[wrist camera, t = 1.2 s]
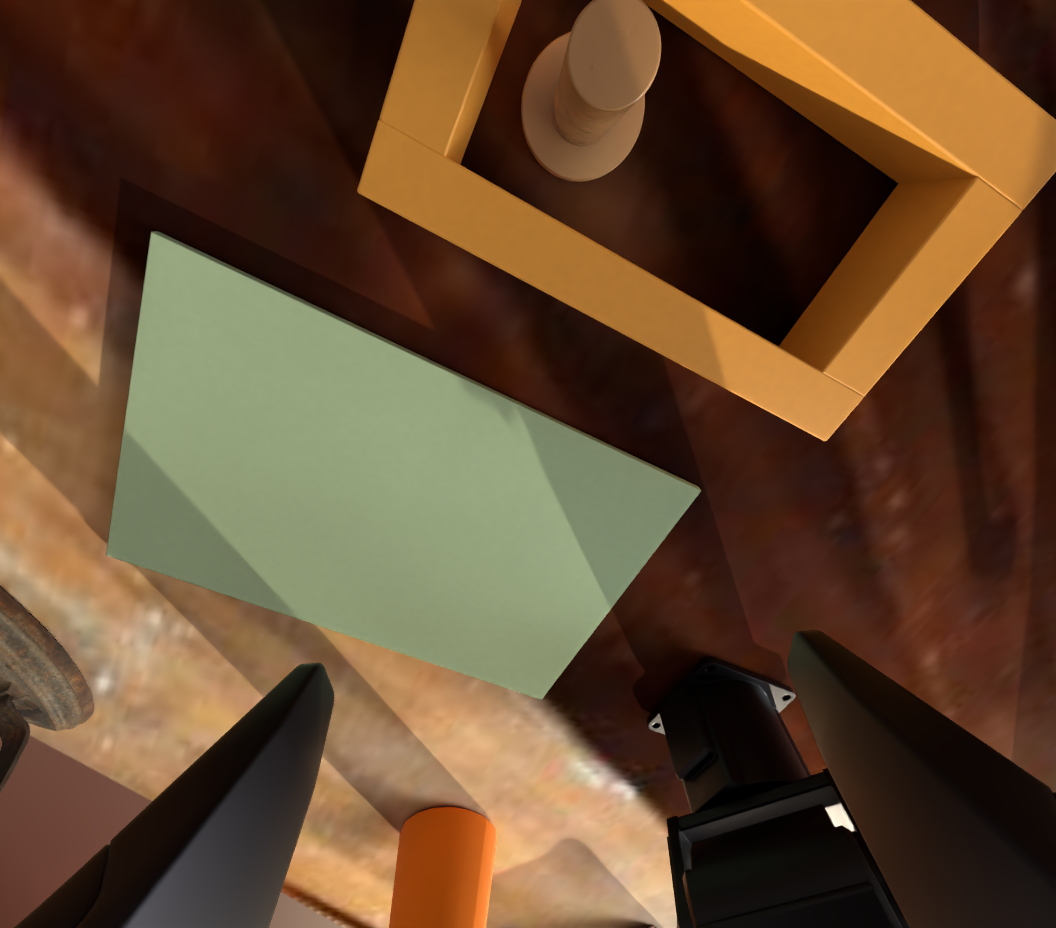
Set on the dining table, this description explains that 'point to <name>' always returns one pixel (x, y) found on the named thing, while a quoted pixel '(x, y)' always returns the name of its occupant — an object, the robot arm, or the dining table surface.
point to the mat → (368, 482)
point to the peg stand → (591, 90)
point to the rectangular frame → (813, 91)
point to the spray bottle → (443, 870)
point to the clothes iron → (34, 684)
